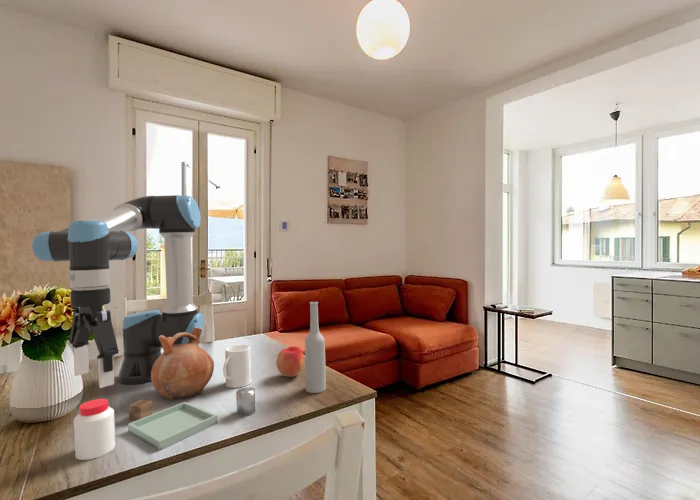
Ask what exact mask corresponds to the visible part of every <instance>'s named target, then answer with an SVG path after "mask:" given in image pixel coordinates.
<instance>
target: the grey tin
mask: <svg viewBox="0 0 700 500" xmlns="http://www.w3.org/2000/svg"><path fill="white" fill-rule="evenodd" d="M235 395H236V397H235V398H236V415H237V416H239V417H249V416H251V415H253V414H255V413H256V390H255V388H253V387H250V386H249V387H248V386H246V387H240V389H239V388H238V389H237V390H236V394H235Z"/></svg>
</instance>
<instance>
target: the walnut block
mask: <svg viewBox="0 0 700 500" xmlns="http://www.w3.org/2000/svg"><path fill="white" fill-rule="evenodd" d="M153 405H154V404H153V400H147V399H139V400H137V401H135V402H133V403H131V404H130V405H128V416H129V417H128V420H129V421H132V422H134V421H137V420H139V419H142V418H144V417H147V416H149V415H152V414H154V411H153V410H154V409H153Z"/></svg>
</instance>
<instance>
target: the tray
mask: <svg viewBox="0 0 700 500" xmlns="http://www.w3.org/2000/svg"><path fill="white" fill-rule="evenodd" d="M218 422H219V421H218V415H217V414H216V413H213V412H211V411H208V410H205V409H204V408H201V407H199V406H196V405H194V404H192V403H188V402H186V401H183V402H181V403H177V404H176V405H173V406H171V407H168V408H165V409H162V410H160V411H158V412H155V413H153V414H152V415H149V416H147V417H144V418H142V419H139V420H137V421H132V422H130V423H127V424H128V425H127V429H128V433H130V434H132V435H133V436H135V437H137V438H139V439H140V440H141V441H144V442H145V443H147V444H148V445H150V446H152V447H153V448H155V449H157V450H158V451H162V450H163V449H166V448H168V447H171V446H172V445H174V444H176V443H179V442H180V441H182V440H184V439H187V438H189V437H191V436H193V435H195V434H197V433H199V432H200V433H201V431H203V430H206V429H208V428H210V427H212V426H215V425H216V424H218Z"/></svg>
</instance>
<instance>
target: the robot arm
mask: <svg viewBox="0 0 700 500" xmlns="http://www.w3.org/2000/svg"><path fill="white" fill-rule="evenodd" d="M201 217H202V216H201V212H200V208H199V205H198V203H197V201H196V200H195V198H193V197H192V196H189V195H181V194H180V195H179V194H177V195H147V196H141V197H137V198H134V199H131V200H129V201H125V202H123V203H120V204H118V205H116V206H115V207H114V209H113V210H111V211H108V212H105V213H103V214H101V215H98V216H96V217H94V218H91V219H89V220H85V219H83V220H81V219H80V220H72V221H70V223H68V228H65V229H62V230H58V231H52V230H50V231H43V232H39V233H37V234H36V235H35V237H34V238H33V239H32V243H31V246H32V247H31V249H32V251H33V254H34V256H35V257H36V258H37V259H38V260H40V261H43V262H54V263H56V262H69V274H68V275H67V279H68V280H69V282H70V283H69V285H70V288H71V289H72V290H71V291H70V293H69V294H70V295H69V297H70V307H72V308H73V309H72V311H73V313H72V314H73V317H72V323H71V328H70V335H69V344H70V345H72V348H73V364H74V366H73V368H74V369H73V371H74V376H75V377H76V376H81V375H86V374H89V373H90V369H89V364H90V363H89V346H88V345H90V342H89V337H90V334H92V336H93V339H94V340H93V341H94V342H95V345H96V348H97V351H98V353H99V354H98V355H97V356H96V359H97V362H98V387H99V388H100V389H102V388H105V387H109V386H113V385H115V371H114V370H115V368H114V367H115V366H114V365H115V364H114V363H115V362H114V356H115V355H118V354H119V353H120V352H119V351H120V350H119V348H118V347H119V346H118V343H117V339H116V336H115V335H116V334H115V331H114V327H113V324H112V323H113V322H112V316H111V315H112V313H111V311H110V310H108V309H107V310H104V308H103V306H104V305H108V304H110V303H111V288H110V287H108V286H110V285H111V269H110V261H123V260H127V259H130V258H132V257H134V256H135V254H137V252H138V249H139V241H138V239H137V237H136V236H135V235H134V234H132V232H135V231H137V230H145V229H148V230H149V229H155V230H158V233H159V235H160V236H161V237H162V238H163V239H164V240H163V241H164V264H165V266H164V267H165V285H166V286H165V289H166V291H165V292H166V293H165V294H166V306H165V307H164V308H162V309H163V310H162V311H161V312H162V314H161V312H160V310H159V309H152V310H151V309H150V310H146V311H144V310H143V311H139V312H135V313H132V314H129V315H127V316H125V317H124V318H123V320H122V341H123V342H122V345H123V359H122V363H121V366H120V368H119V369H120V370H119V372H118V382H119V383H120V382H121V384H124V383H125V384H126V385H134V384H135V385H137V384H144V383H147V382H148V383H149V382H152V380H151V370H152V367H153V365H154V363H155V361H156V360H157V359H158V357H159V356H160V355H161V354H162V351H161V350H162V348H163V347H162V344H161V342H160V340H159V336H161V335H163V336H165V337H166V338H168V337H173V336H174V335H176V334H177V333H182V332H185V333H189V334H191V335H192V332H193V329H194V327H195V328H201V329H202V332H201V335H200V339H199V341H201V338H202V336H203V332H204V329H205V317H204V314H203V313H201V312H199V308H198V306H196V305H195V303H194V296H193V294H194V292H193V269H192V267H193V266H192V264H193V263H192V240H191V239H192V237H193V236H194V235H195V234H196V229H198V228H199V227H200V226H201V221H202V219H201ZM188 342H189V339H188V338H187V337H181V338H179V339H178V340H176V341H175V343H174V344H173V346H176V345H179V344H184V343H188ZM125 384H124V385H125Z"/></svg>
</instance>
